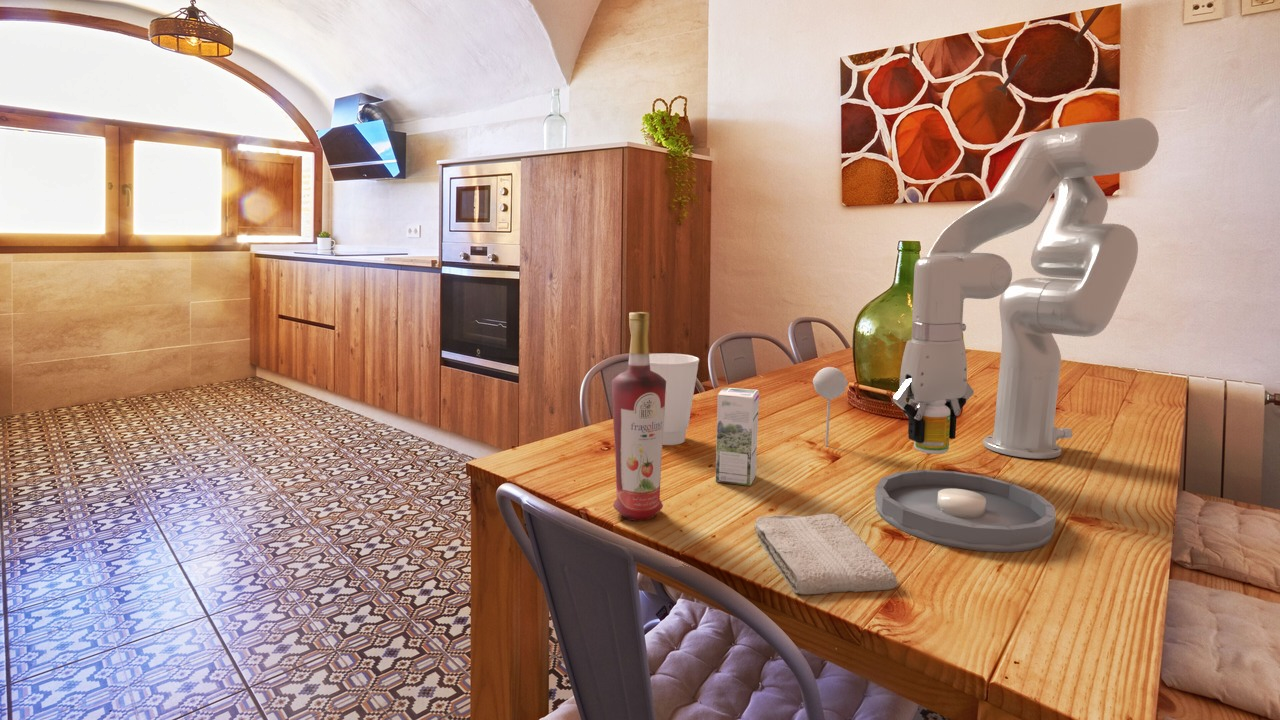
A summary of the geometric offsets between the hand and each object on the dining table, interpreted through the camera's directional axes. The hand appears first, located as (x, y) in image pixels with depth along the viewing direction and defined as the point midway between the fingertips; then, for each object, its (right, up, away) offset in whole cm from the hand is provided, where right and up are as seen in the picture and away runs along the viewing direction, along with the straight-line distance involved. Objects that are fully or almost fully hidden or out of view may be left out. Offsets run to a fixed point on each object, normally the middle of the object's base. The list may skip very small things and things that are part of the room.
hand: (931, 437), depth 113 cm
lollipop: (-14, -3, +13) cm, 20 cm away
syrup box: (-34, -6, -5) cm, 35 cm away
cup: (-44, -3, +16) cm, 47 cm away
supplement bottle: (0, -2, 0) cm, 2 cm away
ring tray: (-5, -9, -20) cm, 22 cm away
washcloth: (-28, -11, -32) cm, 44 cm away
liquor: (-49, -9, -20) cm, 54 cm away
